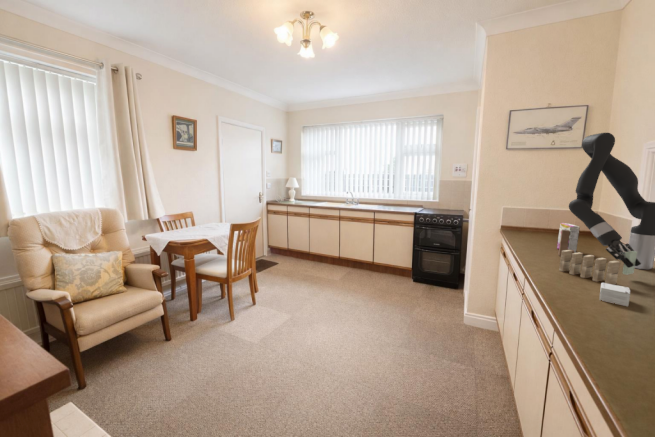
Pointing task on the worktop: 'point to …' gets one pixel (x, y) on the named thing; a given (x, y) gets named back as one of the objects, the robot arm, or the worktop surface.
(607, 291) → the small box
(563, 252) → the domino
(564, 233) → the wooden block
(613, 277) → the domino
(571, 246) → the candy bar box
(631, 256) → the domino
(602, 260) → the domino
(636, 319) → the worktop surface
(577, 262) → the domino
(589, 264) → the domino
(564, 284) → the worktop surface
